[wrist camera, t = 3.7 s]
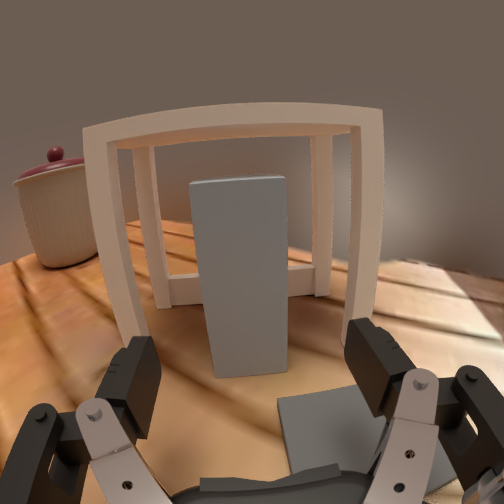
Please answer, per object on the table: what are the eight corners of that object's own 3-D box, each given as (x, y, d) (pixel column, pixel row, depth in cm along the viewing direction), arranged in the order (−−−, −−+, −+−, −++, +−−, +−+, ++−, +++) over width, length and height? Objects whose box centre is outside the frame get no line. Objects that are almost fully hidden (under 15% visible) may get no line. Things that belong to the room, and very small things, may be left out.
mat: (464, 473, 8) (471, 467, 7) (303, 536, 7) (305, 533, 7) (403, 378, 16) (406, 370, 16) (277, 406, 16) (277, 398, 15)
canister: (31, 259, 46) (15, 161, 39) (103, 238, 57) (91, 145, 50) (29, 287, 33) (4, 151, 26) (126, 256, 44) (111, 130, 38)
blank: (287, 371, 19) (285, 177, 14) (215, 378, 18) (189, 184, 14) (276, 332, 23) (271, 172, 19) (217, 337, 23) (199, 177, 19)
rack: (365, 348, 20) (382, 109, 14) (133, 368, 19) (82, 128, 13) (324, 288, 30) (325, 124, 25) (159, 301, 29) (137, 137, 24)
